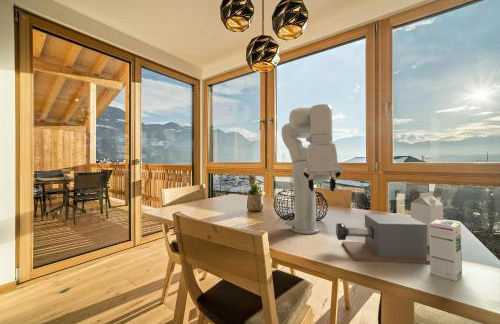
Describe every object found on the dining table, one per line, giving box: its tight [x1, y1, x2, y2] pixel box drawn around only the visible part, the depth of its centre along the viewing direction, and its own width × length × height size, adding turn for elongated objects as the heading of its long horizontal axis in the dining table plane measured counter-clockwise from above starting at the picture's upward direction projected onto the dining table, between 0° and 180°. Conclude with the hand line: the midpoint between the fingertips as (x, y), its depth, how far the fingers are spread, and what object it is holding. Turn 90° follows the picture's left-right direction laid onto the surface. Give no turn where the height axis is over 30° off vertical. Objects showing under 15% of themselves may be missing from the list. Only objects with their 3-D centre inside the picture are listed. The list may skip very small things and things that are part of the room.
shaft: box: [335, 222, 374, 241], centre depth 78 cm, size 18×6×6 cm, turn 82°
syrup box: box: [428, 219, 463, 282], centre depth 62 cm, size 6×6×14 cm
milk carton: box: [410, 192, 444, 247], centre depth 85 cm, size 7×7×19 cm
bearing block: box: [341, 213, 430, 265], centre depth 77 cm, size 23×14×12 cm, turn 82°
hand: (321, 190), depth 79 cm, fingers open, 6 cm apart
